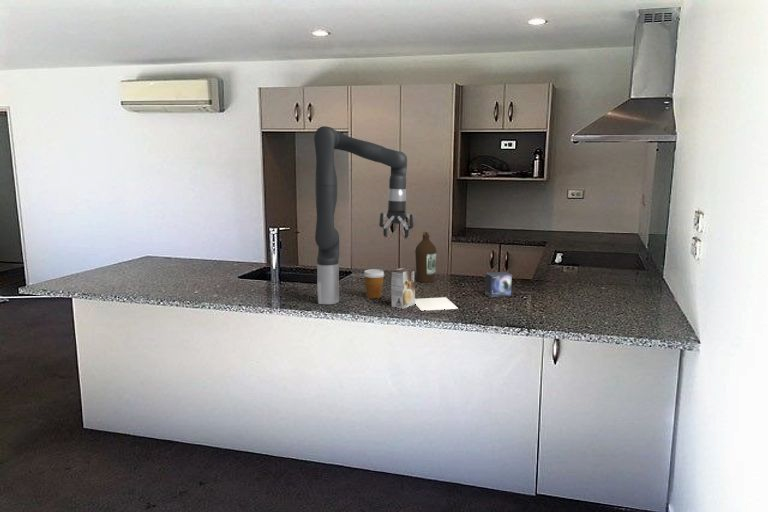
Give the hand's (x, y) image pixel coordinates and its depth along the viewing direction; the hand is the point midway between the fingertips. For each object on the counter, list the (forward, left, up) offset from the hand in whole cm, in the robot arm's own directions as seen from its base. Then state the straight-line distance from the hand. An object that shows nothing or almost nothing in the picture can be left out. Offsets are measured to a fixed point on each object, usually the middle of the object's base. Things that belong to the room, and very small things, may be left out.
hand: (395, 237), depth 248 cm
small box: (+48, +5, -29) cm, 57 cm away
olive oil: (+23, +41, -29) cm, 56 cm away
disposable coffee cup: (-8, +13, -29) cm, 33 cm away
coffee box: (+2, -4, -29) cm, 30 cm away
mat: (+16, -4, -29) cm, 33 cm away
